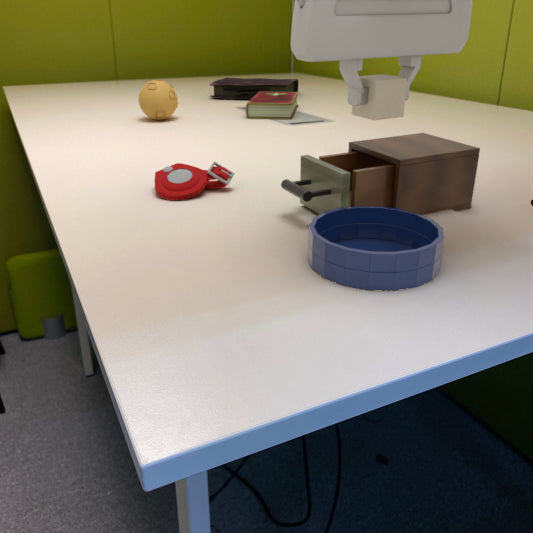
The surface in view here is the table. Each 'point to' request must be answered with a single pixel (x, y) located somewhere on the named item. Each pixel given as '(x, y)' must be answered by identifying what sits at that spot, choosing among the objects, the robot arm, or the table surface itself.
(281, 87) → the diary
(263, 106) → the hardcover book
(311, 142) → the table surface
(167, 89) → the stress ball
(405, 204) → the cabinet
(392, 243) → the bowl
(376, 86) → the block
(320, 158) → the drawer
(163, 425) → the table surface
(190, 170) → the tracker holder
